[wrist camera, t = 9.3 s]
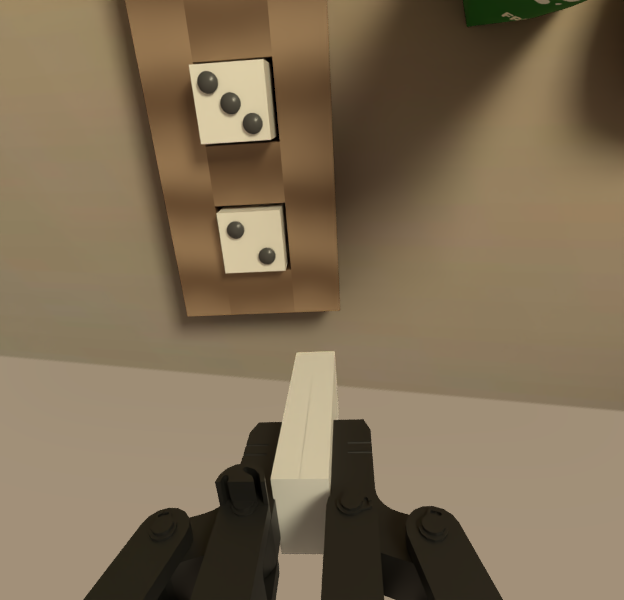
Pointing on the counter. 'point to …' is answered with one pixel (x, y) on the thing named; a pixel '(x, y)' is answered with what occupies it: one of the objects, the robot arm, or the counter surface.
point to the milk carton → (510, 10)
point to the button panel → (243, 147)
